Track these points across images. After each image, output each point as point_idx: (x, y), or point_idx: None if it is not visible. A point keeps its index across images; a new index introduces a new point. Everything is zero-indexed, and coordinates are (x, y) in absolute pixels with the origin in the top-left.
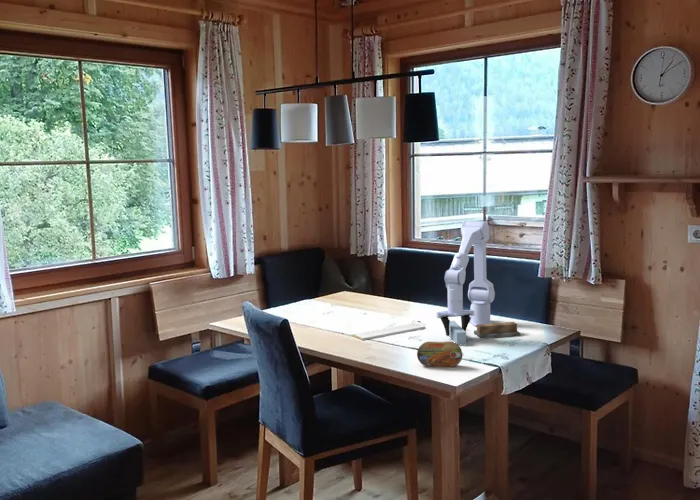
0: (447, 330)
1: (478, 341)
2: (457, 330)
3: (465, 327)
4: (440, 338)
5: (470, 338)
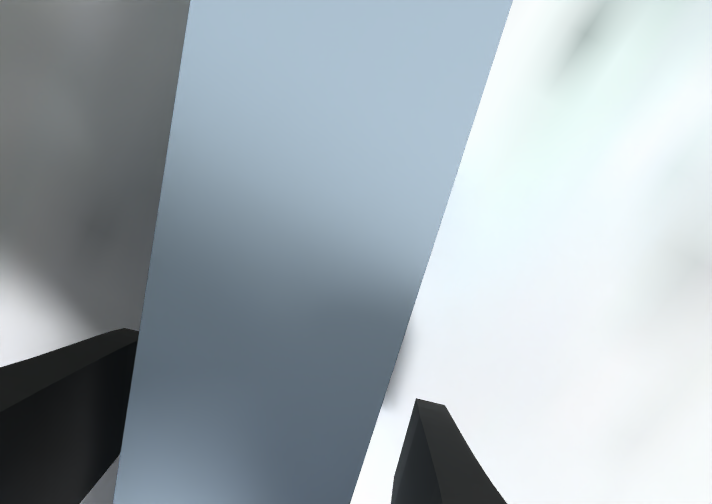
0: (473, 463)
1: (9, 38)
2: (365, 170)
3: (19, 376)
4: (500, 484)
5: (70, 266)
